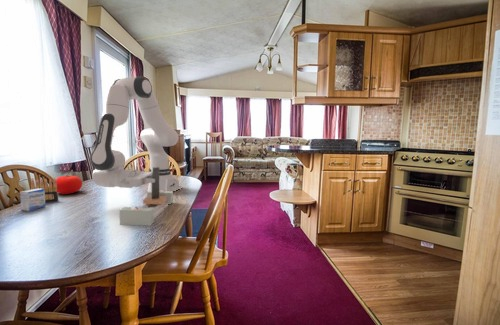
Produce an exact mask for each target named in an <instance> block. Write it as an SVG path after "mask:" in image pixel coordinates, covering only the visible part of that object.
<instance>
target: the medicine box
mask: <svg viewBox="0 0 500 325" xmlns="http://www.w3.org/2000/svg"><path fill="white" fill-rule="evenodd" d="M19 194H20V195H19V196H20V210H21V211H25V212H26V211H27V212H31V211H34V209H35V210H38V209H42V208H44V207H46V202H45V190H44V189H41V188H37V189H32V190H31V189H28V190H27V189H26V190H24V191H23V190H22V191H19ZM41 207H42V208H41ZM37 208H38V209H37Z"/></svg>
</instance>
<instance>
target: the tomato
mask: <svg viewBox="0 0 500 325" xmlns="http://www.w3.org/2000/svg"><path fill="white" fill-rule="evenodd" d="M55 179H56V184H57V193H58V194H60V195H61V194H62V195H68V194H73V193H77V192H79V191H80V190H81V189H82V186H83V181H82V179H81V178H80V177H79V176H76V175H68V174H67V175H61V176H58V177H57V178H55Z"/></svg>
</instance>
